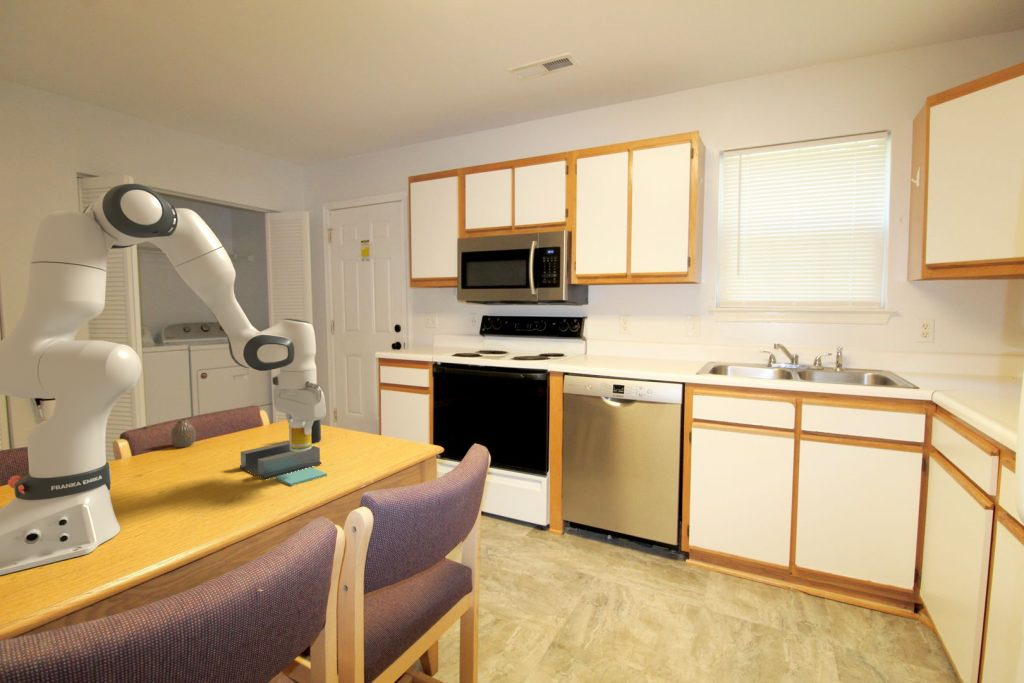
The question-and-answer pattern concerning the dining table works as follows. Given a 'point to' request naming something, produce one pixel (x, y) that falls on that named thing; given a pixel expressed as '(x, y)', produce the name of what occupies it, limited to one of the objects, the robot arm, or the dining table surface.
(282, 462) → the slot housing
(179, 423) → the vase
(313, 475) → the teal mat
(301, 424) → the supplement bottle
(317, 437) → the supplement bottle
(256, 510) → the dining table surface
